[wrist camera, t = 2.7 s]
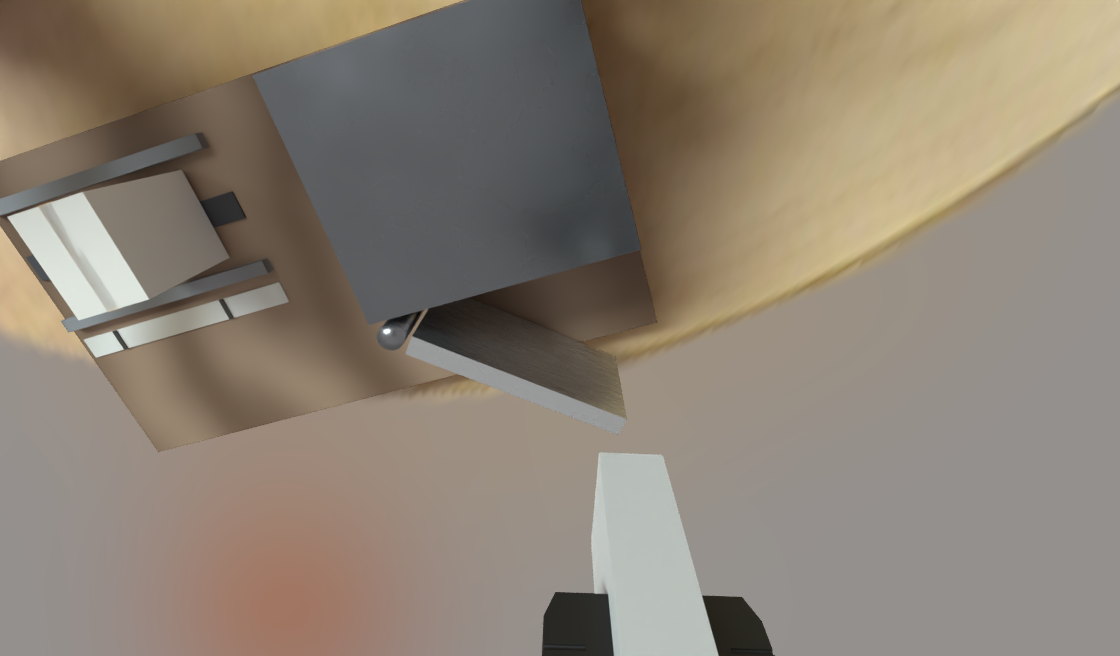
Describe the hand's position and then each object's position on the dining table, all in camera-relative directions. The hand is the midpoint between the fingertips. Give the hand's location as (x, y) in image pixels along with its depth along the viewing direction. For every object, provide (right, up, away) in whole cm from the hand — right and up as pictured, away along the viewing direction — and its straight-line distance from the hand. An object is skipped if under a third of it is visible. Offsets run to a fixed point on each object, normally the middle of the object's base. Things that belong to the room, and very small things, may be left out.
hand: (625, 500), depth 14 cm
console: (-12, +8, +13) cm, 20 cm away
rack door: (-4, +4, +13) cm, 14 cm away
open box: (-5, +12, +10) cm, 16 cm away
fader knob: (-18, +9, +11) cm, 23 cm away
